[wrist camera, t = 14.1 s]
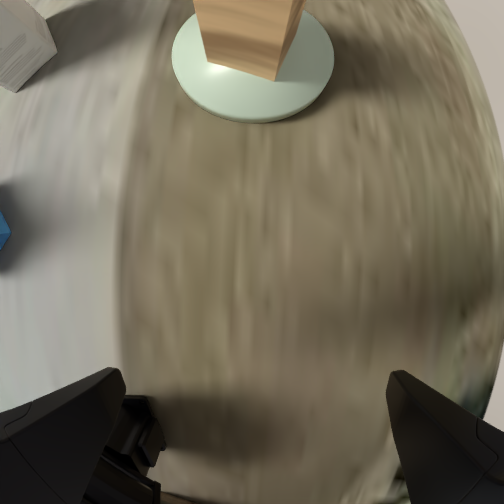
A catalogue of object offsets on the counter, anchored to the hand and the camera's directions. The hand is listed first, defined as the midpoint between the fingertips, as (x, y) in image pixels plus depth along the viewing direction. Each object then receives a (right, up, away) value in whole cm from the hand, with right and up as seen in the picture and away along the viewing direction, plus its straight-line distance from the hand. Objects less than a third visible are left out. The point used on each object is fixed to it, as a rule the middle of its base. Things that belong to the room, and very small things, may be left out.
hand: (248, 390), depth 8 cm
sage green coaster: (0, +19, +10) cm, 22 cm away
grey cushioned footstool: (0, +19, +9) cm, 21 cm away
